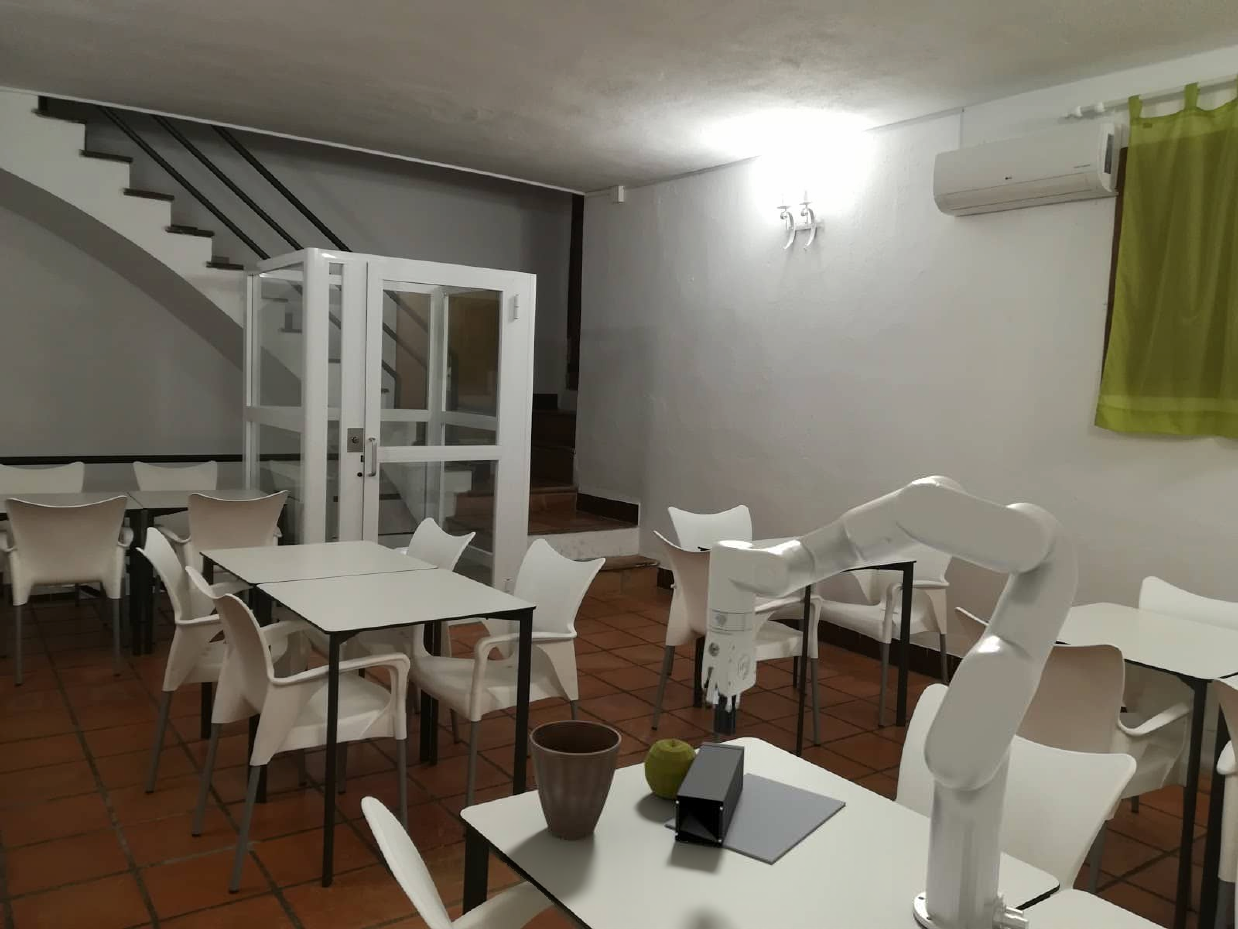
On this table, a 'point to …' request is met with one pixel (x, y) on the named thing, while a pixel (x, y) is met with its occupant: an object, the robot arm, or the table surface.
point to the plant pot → (573, 774)
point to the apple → (668, 766)
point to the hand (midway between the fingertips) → (724, 732)
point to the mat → (769, 818)
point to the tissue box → (711, 791)
